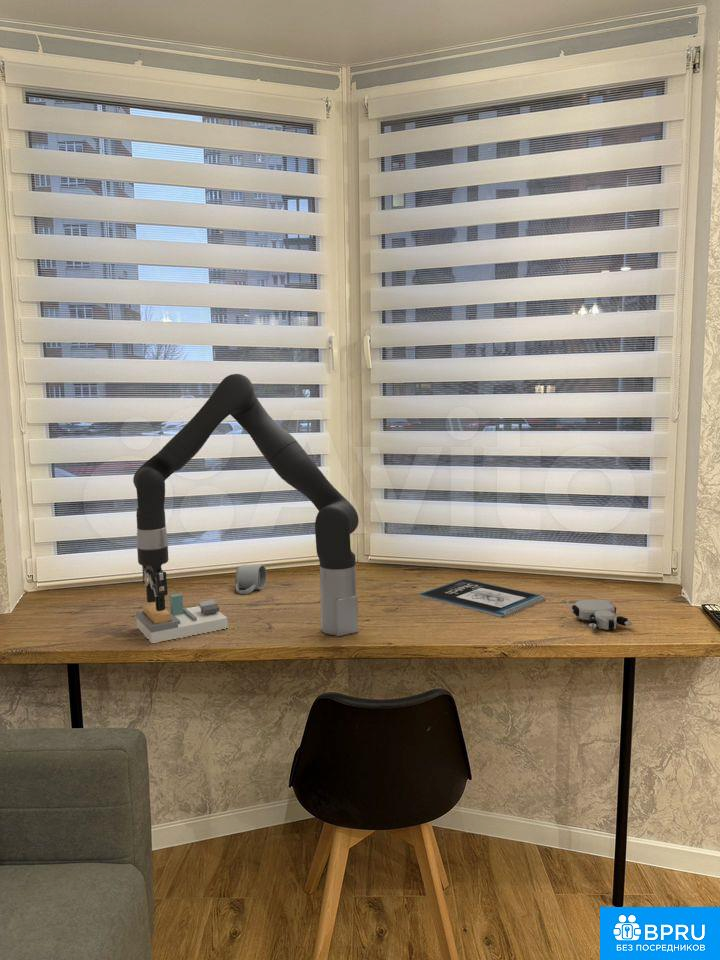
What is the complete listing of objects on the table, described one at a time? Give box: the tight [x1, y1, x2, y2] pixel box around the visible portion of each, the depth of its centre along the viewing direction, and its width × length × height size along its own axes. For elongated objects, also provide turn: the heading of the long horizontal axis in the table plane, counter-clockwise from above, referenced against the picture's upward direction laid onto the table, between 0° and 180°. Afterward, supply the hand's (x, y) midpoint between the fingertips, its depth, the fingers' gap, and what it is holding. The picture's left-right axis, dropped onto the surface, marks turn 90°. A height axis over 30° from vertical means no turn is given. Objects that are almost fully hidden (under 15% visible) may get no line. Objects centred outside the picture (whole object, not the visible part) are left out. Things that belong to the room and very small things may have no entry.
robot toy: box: [566, 598, 633, 630], centre depth 191 cm, size 12×4×15 cm
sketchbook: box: [418, 578, 546, 618], centre depth 214 cm, size 22×30×2 cm
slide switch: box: [169, 593, 184, 615], centre depth 195 cm, size 2×3×5 cm
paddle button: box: [142, 602, 171, 624], centre depth 189 cm, size 11×4×2 cm, turn 31°
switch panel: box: [136, 605, 229, 644], centre depth 192 cm, size 14×20×5 cm
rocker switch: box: [198, 599, 220, 614], centre depth 196 cm, size 5×4×2 cm
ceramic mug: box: [234, 564, 268, 595], centre depth 226 cm, size 11×8×8 cm
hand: (155, 606), depth 189 cm, fingers open, 8 cm apart
